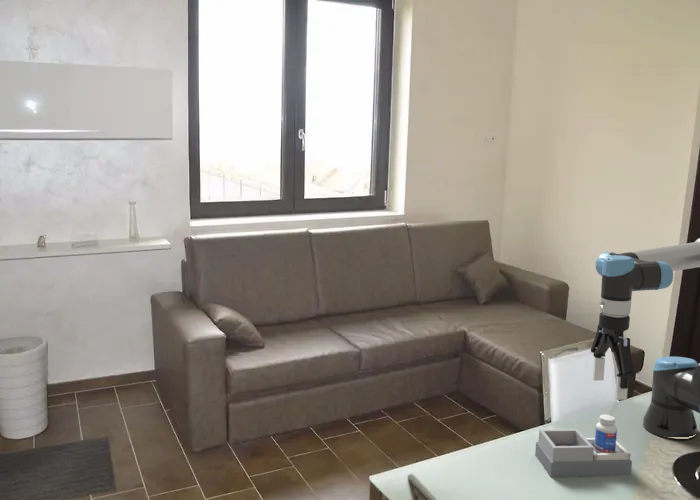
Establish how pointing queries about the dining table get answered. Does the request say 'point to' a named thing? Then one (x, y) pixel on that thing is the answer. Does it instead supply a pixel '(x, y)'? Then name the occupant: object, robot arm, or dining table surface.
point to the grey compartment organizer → (578, 455)
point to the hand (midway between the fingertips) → (609, 389)
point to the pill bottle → (605, 434)
